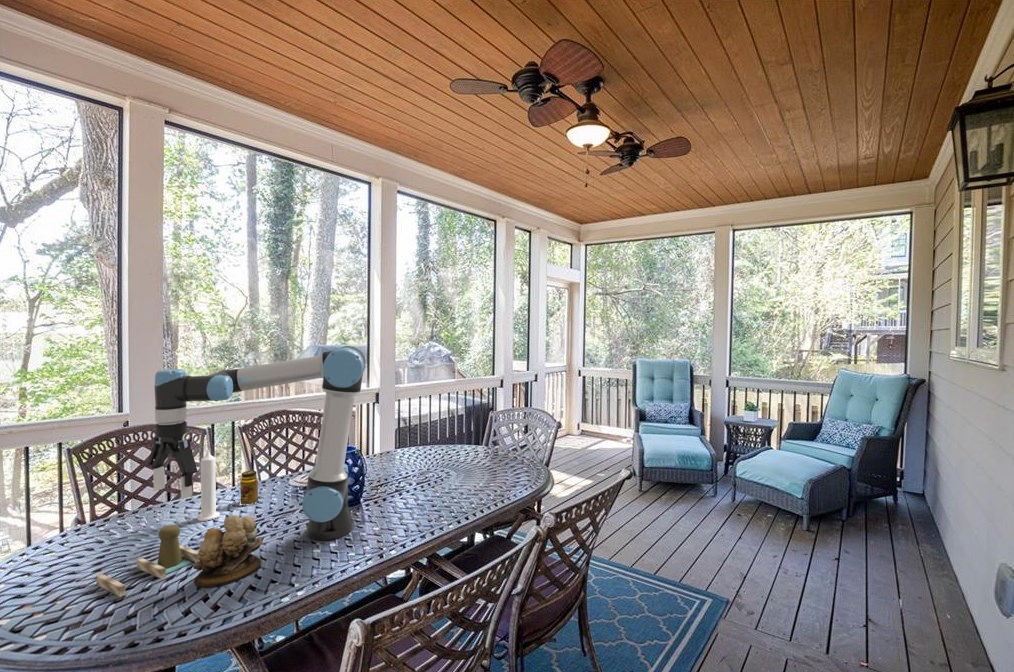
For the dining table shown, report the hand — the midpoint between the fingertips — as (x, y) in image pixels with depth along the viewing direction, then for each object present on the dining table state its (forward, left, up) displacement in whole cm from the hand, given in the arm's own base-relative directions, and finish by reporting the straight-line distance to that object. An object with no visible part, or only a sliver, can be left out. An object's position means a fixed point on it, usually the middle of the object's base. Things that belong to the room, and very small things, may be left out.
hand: (172, 493), depth 140 cm
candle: (+23, -24, -21) cm, 40 cm away
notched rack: (0, +1, -21) cm, 21 cm away
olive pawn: (0, +1, -21) cm, 21 cm away
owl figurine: (-20, -4, -21) cm, 30 cm away
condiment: (+24, -41, -21) cm, 52 cm away
